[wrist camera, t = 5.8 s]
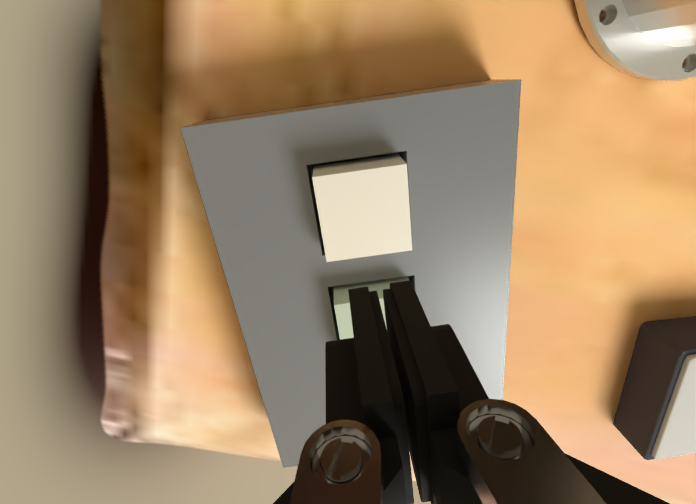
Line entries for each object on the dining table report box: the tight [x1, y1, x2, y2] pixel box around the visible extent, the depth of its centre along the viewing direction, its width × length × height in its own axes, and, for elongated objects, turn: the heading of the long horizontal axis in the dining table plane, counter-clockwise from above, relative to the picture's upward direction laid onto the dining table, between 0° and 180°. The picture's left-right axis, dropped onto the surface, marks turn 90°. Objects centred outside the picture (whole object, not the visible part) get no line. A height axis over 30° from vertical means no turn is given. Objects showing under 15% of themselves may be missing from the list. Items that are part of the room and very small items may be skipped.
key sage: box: [333, 276, 409, 340], centre depth 22 cm, size 4×4×2 cm
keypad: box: [180, 80, 521, 467], centre depth 24 cm, size 24×16×4 cm, turn 7°
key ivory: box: [312, 154, 412, 262], centre depth 19 cm, size 4×4×2 cm
